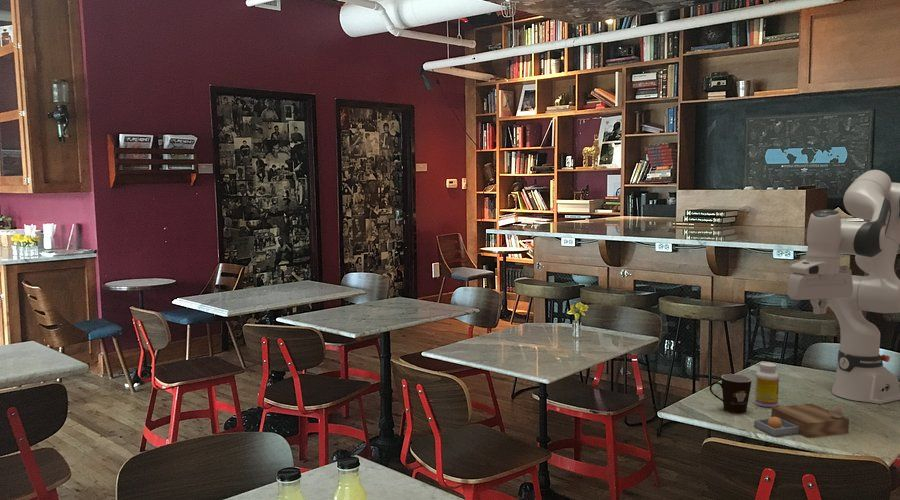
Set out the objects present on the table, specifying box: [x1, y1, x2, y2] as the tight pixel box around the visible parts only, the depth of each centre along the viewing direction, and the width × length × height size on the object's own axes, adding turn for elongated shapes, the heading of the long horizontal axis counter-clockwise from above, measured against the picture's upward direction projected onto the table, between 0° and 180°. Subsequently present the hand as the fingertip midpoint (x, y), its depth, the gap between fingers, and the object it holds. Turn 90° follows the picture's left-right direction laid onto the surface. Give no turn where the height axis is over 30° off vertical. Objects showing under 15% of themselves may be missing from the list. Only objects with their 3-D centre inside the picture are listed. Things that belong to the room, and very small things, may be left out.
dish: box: [753, 417, 800, 438], centre depth 204 cm, size 8×8×2 cm
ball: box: [768, 416, 782, 429], centre depth 204 cm, size 4×4×4 cm
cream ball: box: [828, 404, 845, 418], centre depth 203 cm, size 4×4×4 cm
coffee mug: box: [709, 373, 753, 415], centre depth 222 cm, size 12×9×10 cm
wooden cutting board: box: [770, 403, 850, 439], centre depth 207 cm, size 14×14×4 cm
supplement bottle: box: [754, 361, 780, 408], centre depth 227 cm, size 7×7×13 cm
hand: (819, 313), depth 212 cm, fingers closed
